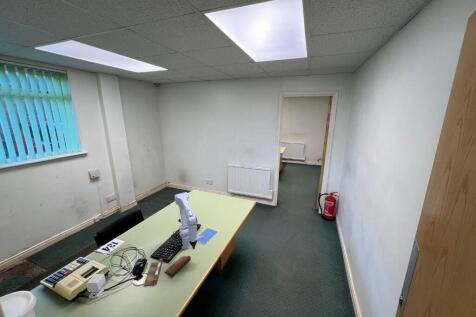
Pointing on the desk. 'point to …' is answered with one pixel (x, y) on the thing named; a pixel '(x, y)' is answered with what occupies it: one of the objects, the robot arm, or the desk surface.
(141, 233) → the desk surface
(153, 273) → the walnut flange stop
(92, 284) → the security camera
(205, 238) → the tablet computer
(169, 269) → the sunglasses case
